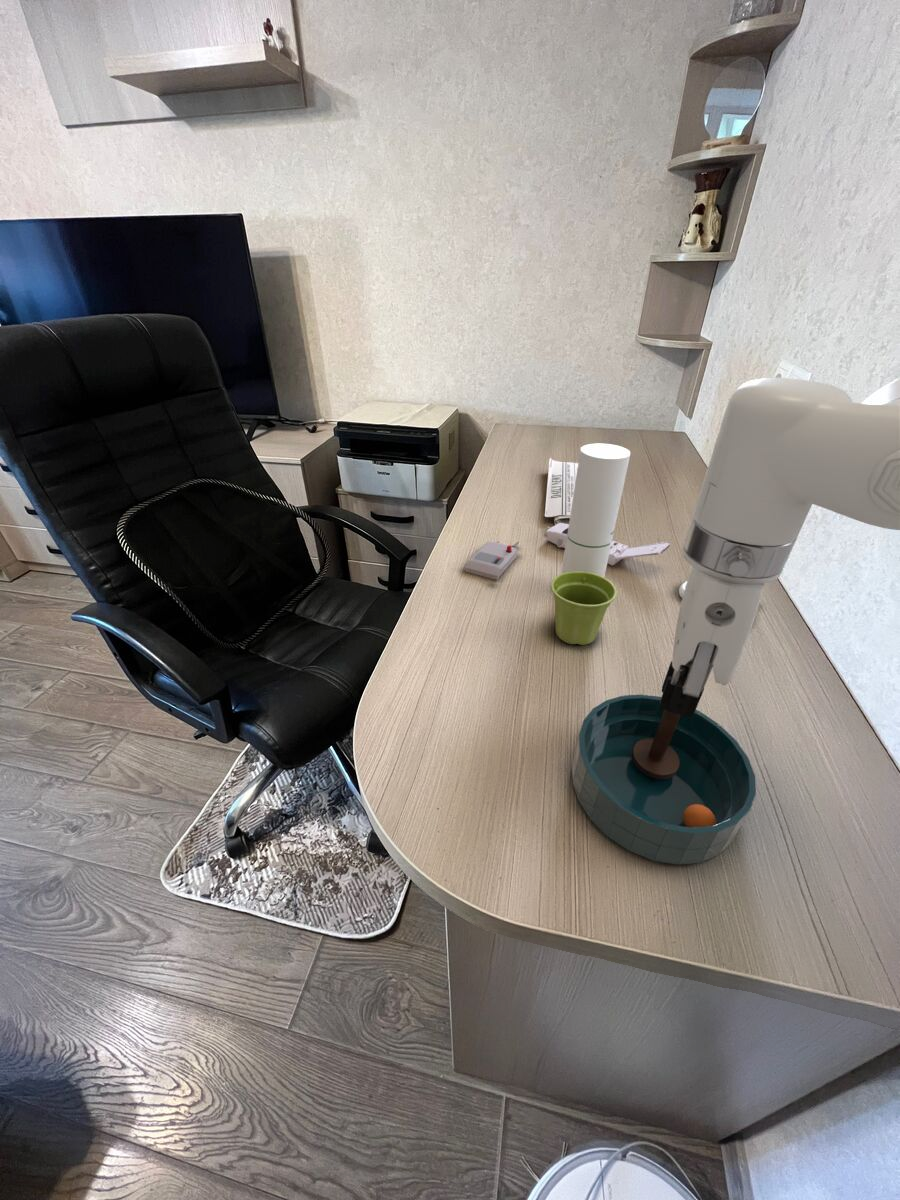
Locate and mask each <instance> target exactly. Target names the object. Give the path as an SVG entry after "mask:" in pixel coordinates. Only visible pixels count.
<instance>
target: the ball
mask: <svg viewBox="0 0 900 1200" xmlns="http://www.w3.org/2000/svg"><path fill="white" fill-rule="evenodd" d="M683 822H684V825H685V827H690V828H694V827H706V826H714V825H716V819H715V816H714V814H713V813H712V812H711V810H710V809H708V808H707V807H705V806H703V805H699V804H694V805H691V806H689V807H687V808H686V810H685V811H684V813H683Z"/></svg>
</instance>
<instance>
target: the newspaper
mask: <svg viewBox="0 0 900 1200" xmlns="http://www.w3.org/2000/svg"><path fill="white" fill-rule="evenodd" d="M548 461H549V462H548V472H547V481H546V483H547V484H546V496H545V508H544V517H545V518H553V521H554V525H556V524H558V523H565V524H569V521H570V514H571V508H572V501H573V495H574V488H575V482H576V476H577V469H578V463H579V462H573V461H572V462H571V461H570V462H569V461H558V460H554V459H552V458H551V457H549V460H548Z"/></svg>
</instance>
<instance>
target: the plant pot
mask: <svg viewBox="0 0 900 1200" xmlns="http://www.w3.org/2000/svg"><path fill="white" fill-rule="evenodd" d="M561 573H562V572H561ZM561 573H560V574H558V575H556V576H554V578H553V579H552V580H551V583H550V589H551V592H552V594H553V598H554V602H555V603H554V605H555V606H554V607H555V609H554V610H555V634H556V635H557V637H558V638H559V639H560V640H561V641H563V642H565V643H567V644H569V645H576V644H577V645H580V646H586V645H589V644H591V643H593V642H594V641H595V639H596V637H597V635H598V632H599V629H600V627H601V624H602V622H603V620H604V617H605V614H606V612H607V609H608V608H609V607H610V605H611V603H612V602H614V600H615V599H616V597H617V593H618V592H617V587H616V586H615V585H614V584H613V583H612V582H611V580H609V579H607V578H606V577H605V576H604V577H602V576H600V575H596V574H594V573H590V572H583V571H572V572H566V573H562V574H561Z"/></svg>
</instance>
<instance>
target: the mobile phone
mask: <svg viewBox="0 0 900 1200" xmlns="http://www.w3.org/2000/svg"><path fill="white" fill-rule="evenodd" d="M568 527H569V524H565V523H558V524H554V525H553V526H552V527H551V526H546V531H545V539H546V540H547V541H549V542H550V543H552V544H554V545H556V546H557V548H563V549H565V547H566V540H567V534H568ZM670 546H671V543H670V541H661V542H656V543H655V542H654V543H650V544H643V545H636V546H630V547H629V546H628V545H627V544H623V543H621V542H618V541H615V540H613V539H612V543H611V548H610V553H609V557H608V562H607V565H610V566H615V565H616V564H617V563H618V562H619V561H621V560H623V559H631V558H640V557H646V556H647V557H649V556H656V555H662V554H663V553H664V552H665V551H666V550H667V549H668V548H669V547H670Z"/></svg>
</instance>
